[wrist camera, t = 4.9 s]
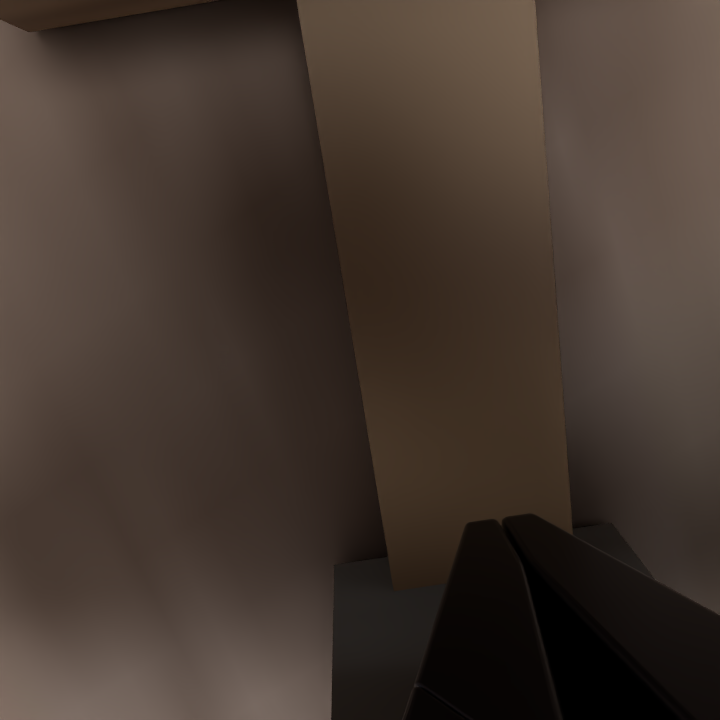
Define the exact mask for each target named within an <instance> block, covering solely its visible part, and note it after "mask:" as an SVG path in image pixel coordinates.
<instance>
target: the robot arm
mask: <svg viewBox="0 0 720 720" xmlns="http://www.w3.org/2000/svg"><path fill="white" fill-rule="evenodd" d="M402 720H720V615H719V614H717V613H715V612H713V611H711V610H709V609H708V608H706V607H704V606H702V605H700V604H698V603H697V602H695V601H693V600H691V599H689V598H687V597H686V596H684V595H682V594H680V593H678V592H676V591H675V590H673V589H671V588H669V587H667V586H665V585H664V584H662V583H660V582H658V581H656V580H654V579H653V578H651V577H649V576H647V575H645V574H643V573H642V572H640V571H638V570H636V569H634V568H632V567H631V566H629V565H627V564H625V563H623V562H621V561H620V560H618V559H616V558H614V557H612V556H610V555H609V554H607V553H605V552H603V551H601V550H599V549H598V548H596V547H594V546H592V545H590V544H588V543H587V542H585V541H583V540H581V539H579V538H577V537H576V536H574V535H572V534H570V533H568V532H566V531H565V530H563V529H561V528H559V527H557V526H555V525H554V524H552V523H550V522H548V521H546V520H544V519H543V518H541V517H539V516H537V515H535V514H532V513H527V514H521V515H514V516H507V517H505V518H503V519H502V522H501V525H500V523H499V522H498V521H497V520H496V519H486V520H480V521H473V522H468V523H467V524H466V525H465V527H464V530H463V533H462V537H461V540H460V543H459V546H458V549H457V552H456V555H455V558H454V562H453V565H452V568H451V571H450V574H449V577H448V580H447V583H446V586H445V590H444V593H443V596H442V599H441V602H440V605H439V608H438V611H437V614H436V618H435V621H434V624H433V627H432V630H431V633H430V636H429V639H428V642H427V646H426V649H425V652H424V655H423V658H422V661H421V664H420V667H419V670H418V674H417V677H416V680H415V683H414V688H413V689H412V691H411V694H410V697H409V700H408V703H407V707H406V710H405V713H404V716H403V718H402Z"/></svg>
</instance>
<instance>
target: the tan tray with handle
mask: <svg viewBox="0 0 720 720" xmlns="http://www.w3.org/2000/svg"><path fill="white" fill-rule="evenodd" d="M212 1H218V0H0V20H3V21H5V22H7V23H9V24H12V25H14V26H16V27H19V28H21V29H23V30H25V31H28V32H33V31H39V30H45V29H51V28H57V27H63V26H69V25H75V24H81V23H87V22H93V21H99V20H105V19H111V18H116V17H122V16H128V15H134V14H140V13H146V12H152V11H158V10H164V9H170V8H176V7H182V6H188V5H194V4H200V3H206V2H212ZM296 1H297V7H298V13H299V19H300V25H301V31H302V37H303V43H304V49H305V55H306V61H307V68H308V74H309V80H310V86H311V92H312V98H313V104H314V110H315V116H316V122H317V128H318V134H319V140H320V146H321V153H322V159H323V165H324V171H325V177H326V183H327V189H328V195H329V201H330V207H331V213H332V219H333V225H334V232H335V238H336V244H337V250H338V256H339V262H340V268H341V274H342V280H343V286H344V292H345V298H346V304H347V310H348V317H349V323H350V329H351V335H352V341H353V347H354V353H355V359H356V365H357V371H358V377H359V383H360V389H361V396H362V402H363V408H364V414H365V420H366V426H367V432H368V438H369V444H370V450H371V456H372V462H373V468H374V474H375V481H376V487H377V493H378V499H379V505H380V511H381V517H382V523H383V529H384V535H385V541H386V547H387V553H388V557H384V558H377V559H371V560H364V561H357V562H351V563H344V564H338V565H334V610H333V662H332V715H331V720H402V718H403V716H404V713H405V710H406V707H407V703H408V700H409V697H410V694H411V691H412V689H413V688H414V683H415V680H416V677H417V674H418V670H419V667H420V664H421V661H422V658H423V655H424V652H425V649H426V646H427V642H428V639H429V636H430V633H431V630H432V627H433V624H434V621H435V618H436V614H437V611H438V608H439V605H440V602H441V599H442V596H443V593H444V590H445V586H446V583H447V580H448V577H449V574H450V571H451V568H452V565H453V562H454V558H455V555H456V552H457V549H458V546H459V543H460V540H461V537H462V533H463V530H464V527H465V525H466V524H467V523H468V522H473V521H480V520H486V519H496V520H497V521H498V522H499V523H500V525H501V522H502V519H503V518H505V517H507V516H514V515H521V514H527V513H532V514H535V515H537V516H539V517H541V518H543V519H544V520H546V521H548V522H550V523H552V524H554V525H555V526H557V527H559V528H561V529H563V530H565V531H566V532H568V533H570V534H572V535H574V536H576V537H577V538H579V539H581V540H583V541H585V542H587V543H588V544H590V545H592V546H594V547H596V548H598V549H599V550H601V551H603V552H605V553H607V554H609V555H610V556H612V557H614V558H616V559H618V560H620V561H621V562H623V563H625V564H627V565H629V566H631V567H632V568H634V569H636V570H638V571H640V572H642V573H643V574H645V575H647V576H649V577H651V578H653V577H652V575H651V574H650V573H649V571H648V570H647V569H646V567H645V566H644V565H643V563H642V562H641V561H640V559H639V558H638V557H637V555H636V554H635V553H634V552H633V550H632V549H631V548H630V546H629V545H628V544H627V542H626V541H625V540H624V538H623V537H622V536H621V534H620V533H619V532H618V531H617V529H616V528H615V527H614V525H613V524H612V523H608V524H602V525H595V526H588V527H582V528H575V529H573V527H572V513H571V499H570V485H569V471H568V457H567V443H566V429H565V415H564V401H563V387H562V373H561V359H560V345H559V330H558V316H557V302H556V288H555V274H554V260H553V246H552V232H551V218H550V204H549V190H548V176H547V162H546V148H545V134H544V120H543V106H542V92H541V78H540V64H539V50H538V36H537V22H536V8H535V0H296ZM653 579H654V578H653ZM654 580H655V579H654Z"/></svg>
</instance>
